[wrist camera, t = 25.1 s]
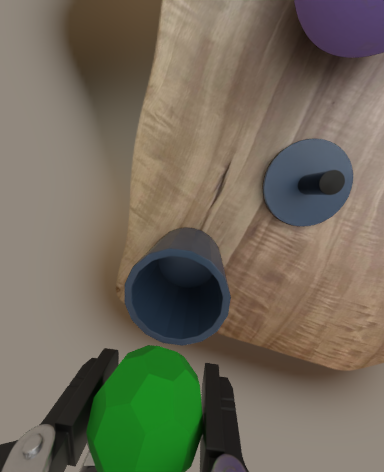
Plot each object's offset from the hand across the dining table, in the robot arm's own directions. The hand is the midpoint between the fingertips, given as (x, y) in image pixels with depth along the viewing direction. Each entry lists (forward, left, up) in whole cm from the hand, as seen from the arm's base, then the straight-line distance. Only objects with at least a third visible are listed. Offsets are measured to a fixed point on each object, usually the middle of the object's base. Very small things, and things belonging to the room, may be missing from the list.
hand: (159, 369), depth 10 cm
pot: (0, 0, -17) cm, 17 cm away
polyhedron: (0, 0, -1) cm, 1 cm away
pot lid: (+12, -14, -17) cm, 25 cm away
